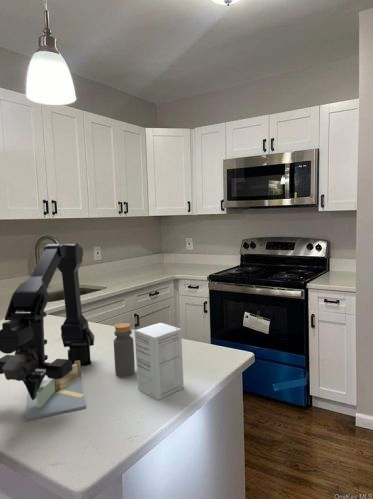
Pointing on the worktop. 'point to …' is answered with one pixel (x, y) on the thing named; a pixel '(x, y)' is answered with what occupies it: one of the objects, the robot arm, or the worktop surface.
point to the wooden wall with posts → (68, 376)
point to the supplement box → (159, 360)
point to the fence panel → (45, 392)
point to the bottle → (124, 351)
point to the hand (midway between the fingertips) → (33, 399)
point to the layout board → (57, 401)
